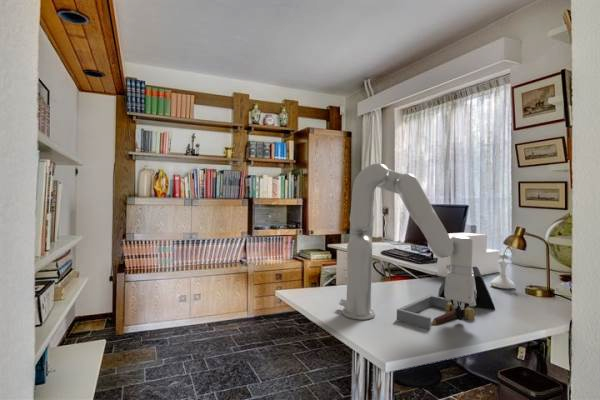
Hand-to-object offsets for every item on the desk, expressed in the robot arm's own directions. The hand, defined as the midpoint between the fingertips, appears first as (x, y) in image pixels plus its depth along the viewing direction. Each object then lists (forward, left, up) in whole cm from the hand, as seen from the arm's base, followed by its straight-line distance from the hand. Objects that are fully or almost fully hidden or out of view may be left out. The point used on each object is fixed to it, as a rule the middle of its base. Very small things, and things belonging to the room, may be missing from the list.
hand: (459, 318), depth 128 cm
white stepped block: (-30, +94, -2) cm, 98 cm away
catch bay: (-12, 0, -2) cm, 12 cm away
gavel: (-5, +1, -2) cm, 5 cm away
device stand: (-10, +34, -2) cm, 35 cm away
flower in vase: (-3, +72, -2) cm, 72 cm away
